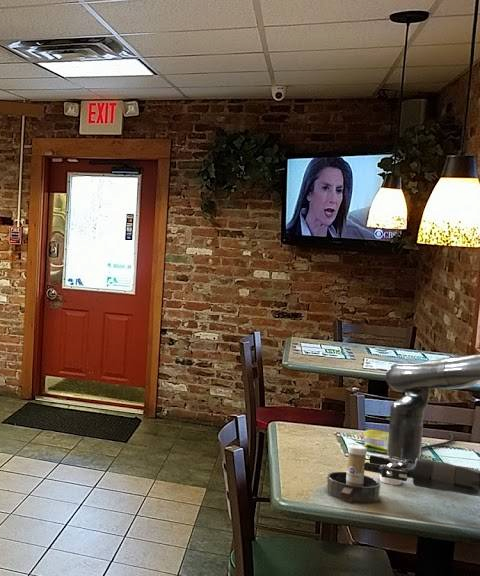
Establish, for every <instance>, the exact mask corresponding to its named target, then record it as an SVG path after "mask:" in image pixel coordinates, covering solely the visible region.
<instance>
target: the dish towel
mask: <svg viewBox="0 0 480 576" xmlns="http://www.w3.org/2000/svg"><path fill="white" fill-rule="evenodd" d="M388 436H389V431H383V430H378V429H366V430H365V431H364V433H363V444H364V445H363V446H364V447H366V449H367V450H369V451H373V452H377V453H382V454H387V448H388Z"/></svg>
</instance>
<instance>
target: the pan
mask: <svg viewBox="0 0 480 576" xmlns="http://www.w3.org/2000/svg"><path fill="white" fill-rule="evenodd" d="M346 474H347V471H332V472H329V473H328V474H327V476H326V487H325V488H326V491H327V492H328V493H329V494H330V495H331V496H333V497H334V498H337V499H340V500H342V499H341V491H342V490H343V489H344V487H349V488H353V502H352V503H361V504H369V503H375V502H377V501H378V500H379V499H380V494H381V482H380V480H377V479H375V478H374V477H371V476H368V475H365V474H364V482H363V487H360V486H352V485H347V484H346Z"/></svg>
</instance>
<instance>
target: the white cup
mask: <svg viewBox="0 0 480 576" xmlns="http://www.w3.org/2000/svg"><path fill="white" fill-rule="evenodd" d="M379 457H384V458H385V457H389V456H386V455H379ZM393 457H394V456H393ZM384 465H385V464H384ZM387 472H388V471H387ZM379 482H380V483H384V484H388V485H392V486H393V485H394V486H395V485H396V486H397V485H398V486H399V485H401V484H402V482H403V480H397V479H391V478H386V477H382V476H381V475H380V474H379Z"/></svg>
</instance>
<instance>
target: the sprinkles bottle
mask: <svg viewBox="0 0 480 576" xmlns="http://www.w3.org/2000/svg"><path fill="white" fill-rule="evenodd" d="M367 450H368V449H367V448H366V447H365V445H360V444H349V445H348V448H347V453H348V455H347V457H348V458H347V465H346V467H347V468H346V472H347V474H346V484H347V485H352V486H360V487H363V482H364V475H365V470H364V465H365V463H366V457H367V456H366V455H367V452H368V451H367Z"/></svg>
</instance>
